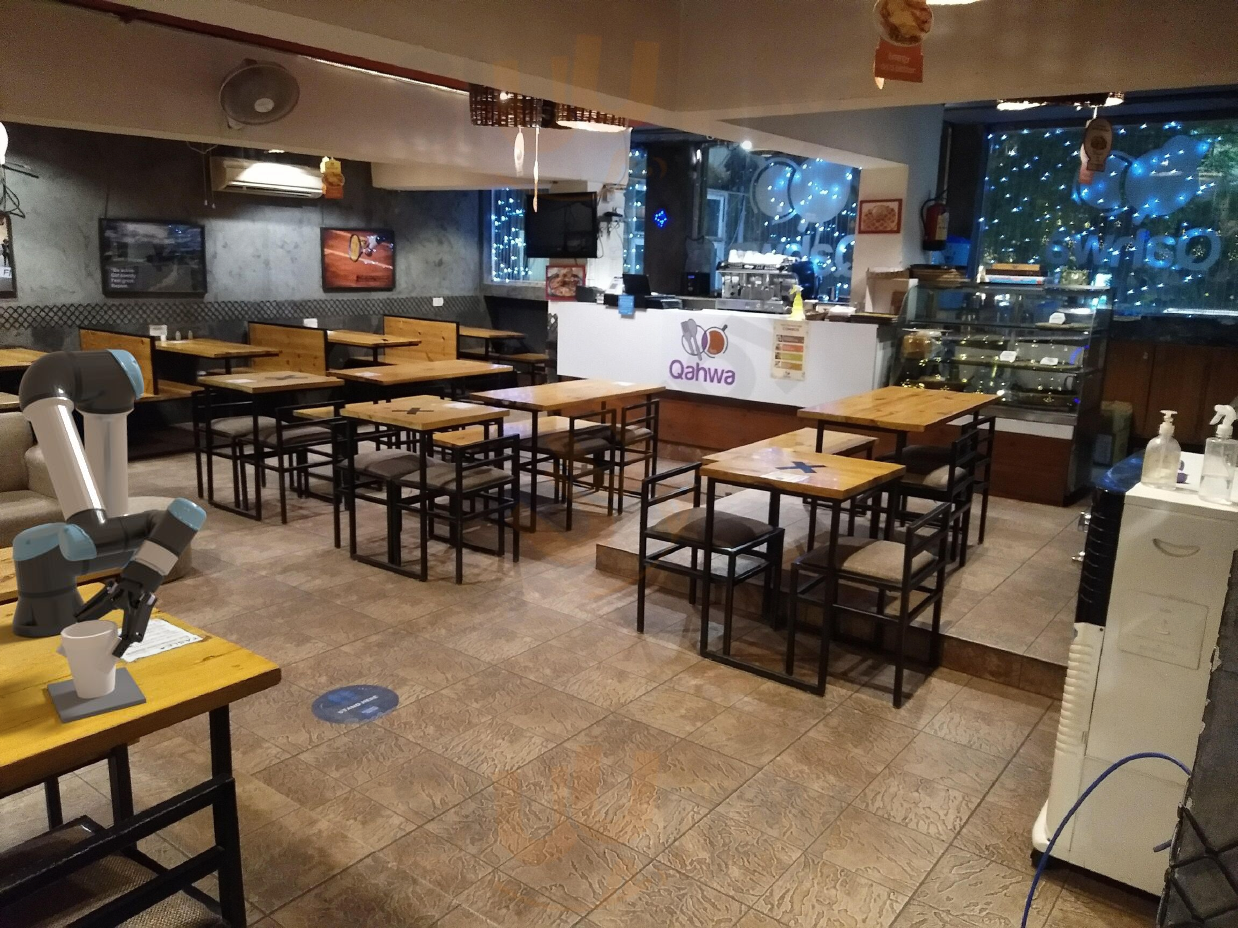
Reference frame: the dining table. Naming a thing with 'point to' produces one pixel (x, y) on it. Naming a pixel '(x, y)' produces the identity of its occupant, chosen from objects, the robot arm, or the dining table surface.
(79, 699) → the rubber mat
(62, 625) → the robot arm
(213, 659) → the dining table surface
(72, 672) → the foam cup
